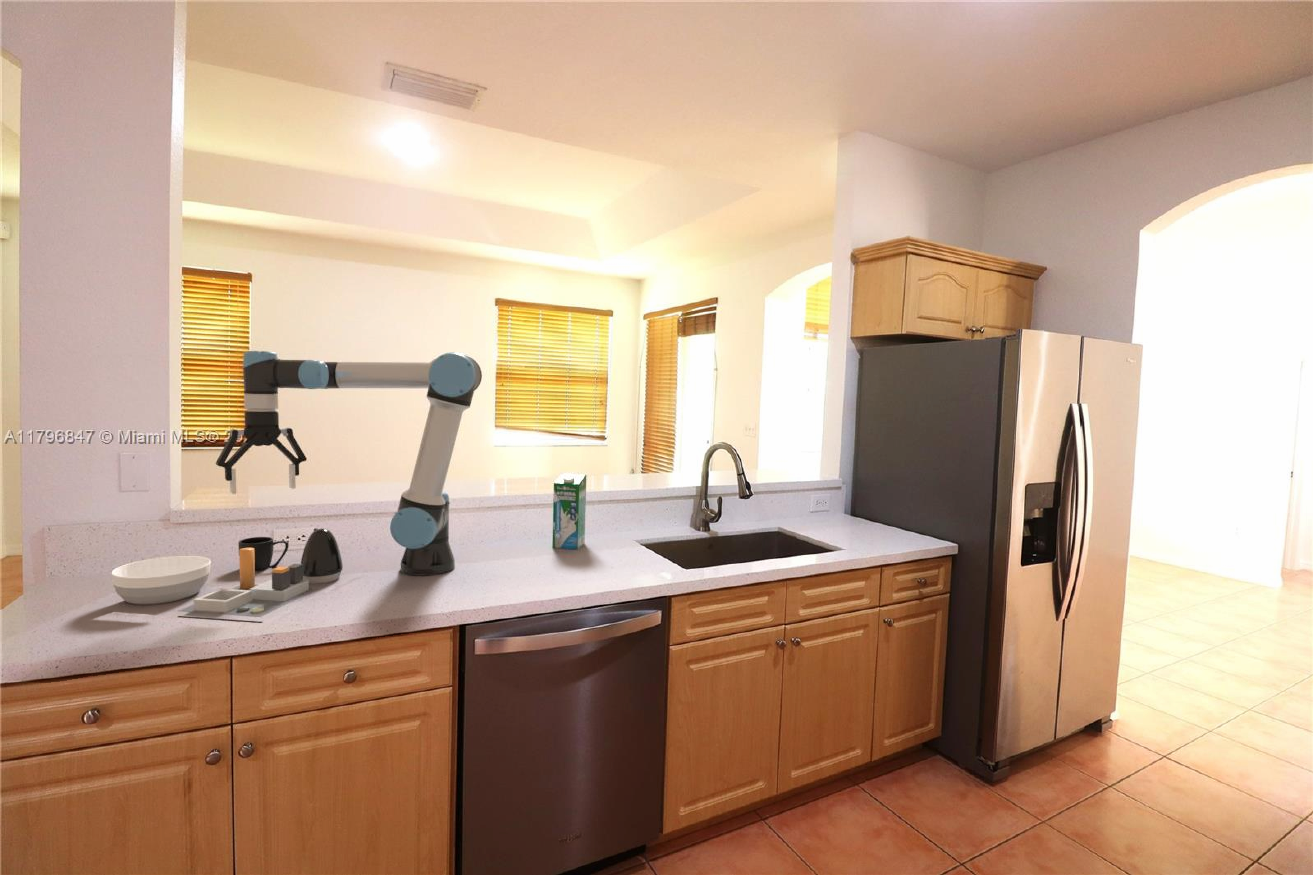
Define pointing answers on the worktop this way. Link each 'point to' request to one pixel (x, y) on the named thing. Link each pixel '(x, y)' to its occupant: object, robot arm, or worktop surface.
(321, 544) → the black domed piece
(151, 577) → the bowl
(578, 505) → the milk carton
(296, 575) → the block
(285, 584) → the block
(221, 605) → the panel board
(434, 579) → the worktop surface
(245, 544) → the mug
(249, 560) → the pin
